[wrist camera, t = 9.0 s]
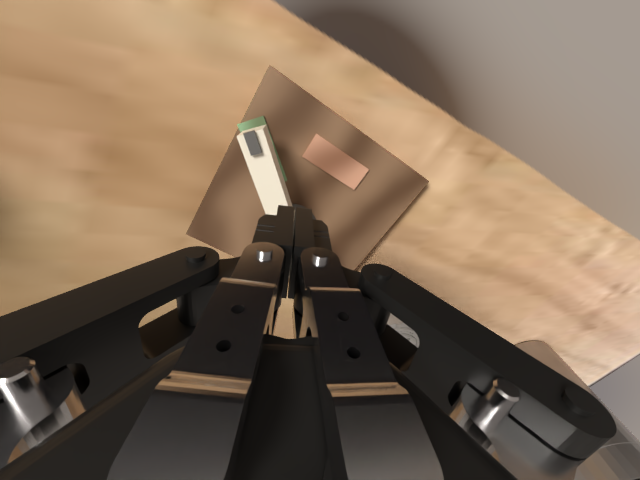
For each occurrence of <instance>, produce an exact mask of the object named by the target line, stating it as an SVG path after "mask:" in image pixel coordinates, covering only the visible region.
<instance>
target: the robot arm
mask: <svg viewBox="0 0 640 480" xmlns="http://www.w3.org/2000/svg"><path fill="white" fill-rule="evenodd" d="M329 237H330V236H329V231H328V226H327V225H326V224H325V223H324V222H323V221H322V220H314V219H313V218H312V209H309V208H301V207H296V208H295V216H294V207H292V206H283V205H278V210H277V215H269V214H265V215H263V216H262V217H260V218H259V220H258V224H257V227H256V230H255V234H254V237H253V240H252V244H250V245H248V246H246V247H245V249H244V251H243V253H242V255H241V256H239V257H236V258H230V259H220V260H219V254H218V253H217V252H216V251H215V250H213V249H211V248H208V247H201V246H196V247H188V248H184V249H181V250H179V251H176V252H173V253H171V254H168V255H165V256H162V257H160V258H157V259H154V260H152V261H149V262H146V263H144V264H141V265H138V266H136V267H133V268H130V269H127V270H125V271H122V272H119V273H117V274H114V275H111V276H109V277H106V278H103V279H101V280H98V281H95V282H92V283H90V284H87V285H84V286H82V287H79V288H76V289H74V290H71V291H68V292H66V293H63V294H60V295H57V296H55V297H52V298H49V299H47V300H44V301H41V302H39V303H36V304H33V305H31V306H28V307H25V308H22V309H20V310H17V311H14V312H12V313H9V314H6V315H4V316H1V317H0V480H640V442H639V440H638V439H637V438H636V437H635V436H634V435H633V434H632V433H631V432H630V431H629V430H628V429H627V427H625V425H624V424H623V423H622V422H621V421H620V420H619V419H618V418H617V417H616V416H615V415H614V414H613V413H612V412H611V411H610V409H609V408H608V407H607V406H606V405H605V404H604V403H603V402H602V401H601V400H600V399H599V398H598V397H597V396H596V395H595V394H594V393H593V392H592V390H591V389H590V388H589V387H588V386H587V385H586V384H585V383H584V382H583V381H582V380H581V379H580V378H579V377H578V376H577V374H576V373H575V372H574V371H573V370H572V369H571V368H570V367H569V366H568V365H567V364H566V363H565V362H564V361H563V359H562V358H561V357H560V356H559V355H558V354H557V353H556V352H555V351H554V350H553V349H552V348H551V347H550V346H549V345H548V344H547V343H545V342H541V341H527V342H523V343H520V344H517V345H513V344H512V343H510V342H508V341H507V340H505V339H504V338H502V337H500V336H499V335H497V334H496V333H494V332H492V331H491V330H489V329H488V328H486V327H484V326H483V325H481V324H480V323H478V322H476V321H475V320H473V319H472V318H470V317H469V316H467V315H465V314H464V313H462V312H461V311H459V310H457V309H456V308H454V307H453V306H451V305H449V304H448V303H446V302H445V301H443V300H441V299H440V298H438V297H437V296H435V295H433V294H432V293H430V292H429V291H427V290H425V289H424V288H422V287H421V286H419V285H417V284H416V283H414V282H413V281H411V280H409V279H408V278H406V277H405V276H403V275H402V274H400V273H398V272H397V271H395V270H394V269H392V268H390V267H388V266H385V265H381V264H368V265H365V266H364V267H363V268H362V270H361V272H357V271H354V270H351V269H348V268H345V267H343V266H342V265H341V263H340V260H339V257H338V256H337V255H336V254H335V253H334V252H332V247H331V242H330V238H329ZM288 280H289V289H288V298H292V299H294V305H293V312H292V319H293V333H294V339H285V338H281V337H277V336H274V331H275V326H276V321H277V316H278V309H279V307H280V305H281V299H282V298H286V296H287V288H288ZM174 299H176V300H177V308H176V309H174V310H172V311H170V312H168V313H166V314H164V315H162V316H160V317H159V318H157V319H155V320H153V321H151V322H149V323H147V324H145V325H144V326H142V327H140V328H138V326H139V323H140V321H141V319H142V318H143V317H144V316H145V315H146V314H147V313H148V312H150V311H152V310H154V309H156V308H158V307H160V306H162V305H164V304H166V303H168V302H170V301H172V300H174ZM390 314H392V315H394V316H395V317H396V318H398V319H399V320H400V321H402V322H403V323H404V324H406V325H407V326H408V327H410V328H411V329H412V330H414V331H415V333H416V334H417V336H418V338H419V342H420V344H419V347H418V348H417V347H416V346H415V345H414V344H412V343H411V342H410V341H408V340H407V339H406V338H405V337H403V336H402V335H401V334H400V333H398V332H397V331H396V330H394V329H393V328H392V327H391V326H389V325H388V324H387V322H388V319H389V317H390Z"/></svg>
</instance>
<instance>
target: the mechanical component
mask: <svg viewBox="0 0 640 480" xmlns="http://www.w3.org/2000/svg"><path fill="white" fill-rule="evenodd" d="M387 324H388V325H389V326H391V327H392V328H393V329H394V330H396V331H397V332H398V333H400V334H401V335H402V336H403V337H405V338H406V339H407V340H408V341H410V342H411V343H412V344H414V345H415V346H416V347H417V348H418V347H419V344H420V342H419V338H418V336H417V334H416V333H415V331H414V330H412V329H411V328H410V327H408V326H407V325H406V324H404V323H403V322H402V321H400V320H399V319H398V318H396V317H395V316H394V315H392V314H390V317H389V319H388V322H387Z"/></svg>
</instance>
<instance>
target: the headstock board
mask: <svg viewBox="0 0 640 480" xmlns="http://www.w3.org/2000/svg"><path fill="white" fill-rule="evenodd" d="M237 125H238V130H237V132H236V134H235V136H234V138H233V140H232V142H231V144H230V146H229V148H228V150H227V152H226V154H225V156H224V158H223V160H222V162H221V164H220V166H219V168H218V170H217V172H216V174H215V176H214V178H213V180H212V182H211V184H210V186H209V188H208V190H207V192H206V194H205V196H204V198H203V200H202V203H201V205H200V207H199V209H198V211H197V213H196V215H195V217H194V219H193V221H192V223H191V225H190V227H189V229H188V231H187V233H186V234H187V235H189V236H191V237H193V238H196V239H198V240H200V241H202V242H204V243H206V244H208V245H210V246H213V247H215V248H217V249H219V250H221V251H223V252H225V253H228V254H230V255H232V256H234V257H239V256H241V255H242V253H243V251H244V249H245V247H246V246H248V245H250V244H252V240H253V237H254V234H255V230H256V227H257V224H258V220H259V218H260V217H262V216H263V215H265V211H264V208H263V206H262V203H261V200H260V198H259V195H258V192H257V190H256V187H255V184H254V182H253V179H252V176H251V174H250V171H249V168H248V166H247V163H246V160H245V158H244V155H243V152H242V150H241V147H240V144H239V142H238V139H237V135H239V134H240V133H241V132H242V131H244V130H248V129H251V128H255V127H259V126H262V125H267V128H268V131H269V134H270V137H271V140H272V143H273V147H274V150H275V153H276V156H277V159H278V162H279V165H280V169H281V172H282V175H283V178H284V181H285V184H286V187H287V190H288V194H289V197H290V200H291V203H292V206H293V207H294V210H295V208H296V207H301V208H309V209H312V218H313V219H314V220H322V221H323V222H324V223H325V224H326V225H327V226H328V231H329V236H330V237H329V238H330V242H331V247H332V252H334V253H335V254H336V255H337V256H338V257H339V260H340V263H341V265H342V266H343V267H345V268H348V269H351V270H355V269H356V267H357V266H358V265H359V264H360V263H361V262H362V260H363V259H364V258H365V257H366V256H367V254H368V253H369V252H370V251H371V250H372V249H373V247H374V246H375V245H376V244H377V243H378V241H379V240H380V239H381V238H382V237H383V236H384V234H385V233H386V232H387V231H388V230H389V228H390V227H391V226H392V225H393V224H394V222H395V221H396V220H397V219H398V218H399V217H400V215H401V214H402V213H403V212H404V211H405V209H406V208H407V207H408V206H409V205H410V204H411V202H412V201H413V200H414V199H415V198H416V196H417V195H418V194H419V193H420V192H421V190H422V189H423V188H424V187H425V186H426V185H427V183H428V182H429V181H428V180H427V179H425V178H424V177H423V176H421V175H420V174H419V173H417V172H416V171H414V170H413V169H412V168H410V167H409V166H408V165H406V164H405V163H404V162H402V161H401V160H399V159H398V158H397V157H395V156H394V155H393V154H391V153H390V152H388V151H387V150H386V149H384V148H383V147H382V146H380V145H379V144H377V143H376V142H375V141H373V140H372V139H371V138H369V137H368V136H367V135H365V134H364V133H362V132H361V131H360V130H358V129H357V128H356V127H354V126H353V125H351V124H350V123H349V122H347V121H346V120H345V119H343V118H342V117H340V116H339V115H338V114H336V113H335V112H334V111H332V110H331V109H330V108H328V107H327V106H325V105H324V104H323V103H321V102H320V101H319V100H317V99H316V98H314V97H313V96H312V95H310V94H309V93H308V92H306V91H305V90H303V89H302V88H301V87H299V86H298V85H297V84H295V83H294V82H293V81H291V80H290V79H288V78H287V77H286V76H284V75H283V74H282V73H280V72H279V71H277V70H276V69H275V68H273V67H272V66H270V65H269V67H268V69H267V71H266V73H265V75H264V77H263V79H262V81H261V83H260V85H259V87H258V89H257V91H256V93H255V95H254V97H253V99H252V101H251V103H250V105H249V107H248V109H247V111H246V113H245V115H244V117H243V119H242V122H241V123H240V124H237ZM288 282H289V280H288Z"/></svg>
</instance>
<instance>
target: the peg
mask: <svg viewBox="0 0 640 480" xmlns="http://www.w3.org/2000/svg"><path fill="white" fill-rule="evenodd" d="M237 139H238V142H239V144H240V147H241V150H242V152H243V155H244V158H245V160H246V163H247V166H248V168H249V171H250V174H251V176H252V179H253V182H254V184H255V187H256V190H257V192H258V195H259V198H260V200H261V203H262V206H263V208H264V211H265V214H269V215H277V210H278V205H283V206H292V203H291V200H290V197H289V194H288V190H287V187H286V184H285V181H284V178H283V175H282V172H281V169H280V165H279V162H278V159H277V156H276V153H275V150H274V147H273V143H272V140H271V137H270V134H269V131H268V128H267V125H262V126H259V127H255V128H251V129H248V130H244V131H242V132H241V133H240V134H239V135H237ZM292 207H293V206H292ZM294 216H295V210H294Z"/></svg>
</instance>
